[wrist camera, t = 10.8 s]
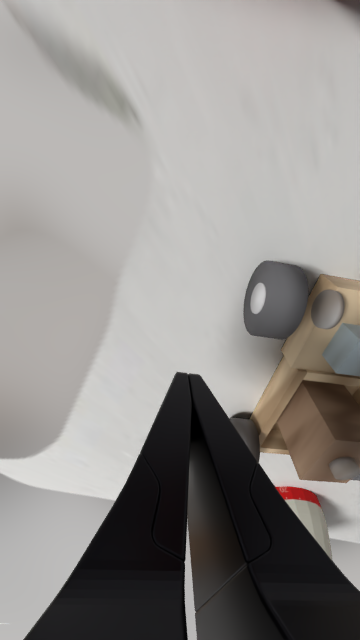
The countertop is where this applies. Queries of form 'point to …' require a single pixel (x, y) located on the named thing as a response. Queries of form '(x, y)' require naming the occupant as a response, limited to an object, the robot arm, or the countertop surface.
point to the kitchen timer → (308, 513)
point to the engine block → (322, 432)
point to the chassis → (310, 360)
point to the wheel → (275, 300)
